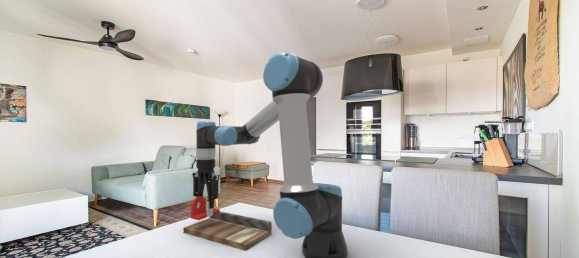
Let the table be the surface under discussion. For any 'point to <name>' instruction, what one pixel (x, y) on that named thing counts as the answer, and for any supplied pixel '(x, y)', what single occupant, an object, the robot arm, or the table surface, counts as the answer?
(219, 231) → the board
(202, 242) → the table surface
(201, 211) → the bracket
